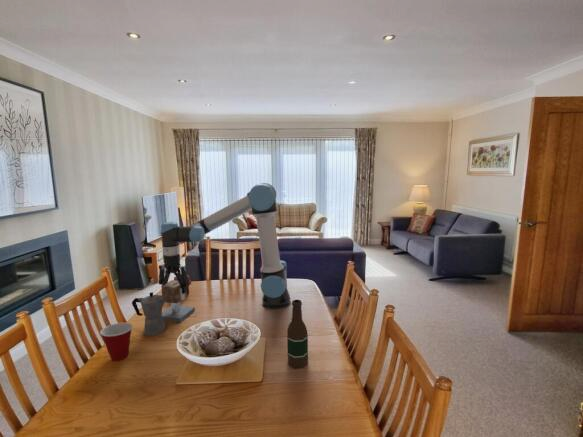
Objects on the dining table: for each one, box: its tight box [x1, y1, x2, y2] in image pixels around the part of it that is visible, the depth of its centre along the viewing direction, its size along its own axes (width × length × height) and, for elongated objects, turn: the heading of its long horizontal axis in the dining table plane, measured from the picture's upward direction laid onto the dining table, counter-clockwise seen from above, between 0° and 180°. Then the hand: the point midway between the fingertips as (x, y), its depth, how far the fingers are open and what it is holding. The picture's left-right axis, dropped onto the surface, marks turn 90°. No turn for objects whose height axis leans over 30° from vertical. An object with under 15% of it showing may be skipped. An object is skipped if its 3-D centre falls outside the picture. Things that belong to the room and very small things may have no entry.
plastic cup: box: [99, 322, 134, 362], centre depth 111 cm, size 11×11×12 cm
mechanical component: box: [173, 274, 192, 296], centre depth 167 cm, size 12×10×10 cm
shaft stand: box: [162, 301, 196, 323], centre depth 144 cm, size 13×12×8 cm
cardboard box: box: [160, 279, 188, 304], centre depth 142 cm, size 8×8×8 cm
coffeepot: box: [131, 292, 167, 337], centre depth 129 cm, size 15×9×18 cm, turn 92°
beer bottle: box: [286, 299, 309, 369], centre depth 105 cm, size 8×8×24 cm
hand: (174, 298), depth 143 cm, fingers closed on cardboard box, 8 cm apart
